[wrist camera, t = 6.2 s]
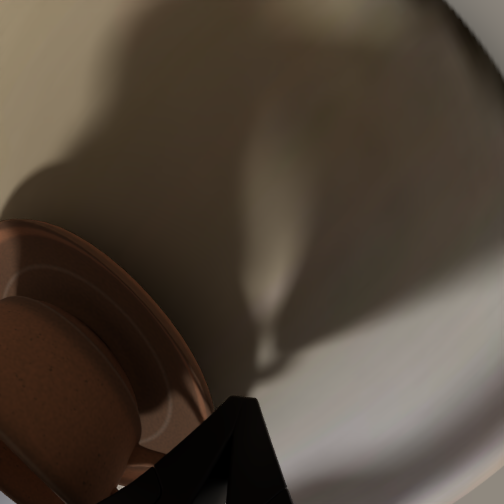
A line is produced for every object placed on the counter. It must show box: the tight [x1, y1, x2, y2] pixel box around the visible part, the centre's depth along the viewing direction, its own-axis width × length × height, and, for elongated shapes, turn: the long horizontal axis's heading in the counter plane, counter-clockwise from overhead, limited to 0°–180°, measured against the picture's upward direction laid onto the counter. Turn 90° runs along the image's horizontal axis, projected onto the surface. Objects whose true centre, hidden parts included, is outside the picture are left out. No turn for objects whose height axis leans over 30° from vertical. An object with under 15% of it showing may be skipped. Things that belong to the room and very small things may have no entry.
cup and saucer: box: [0, 219, 214, 504], centre depth 8 cm, size 12×12×6 cm
